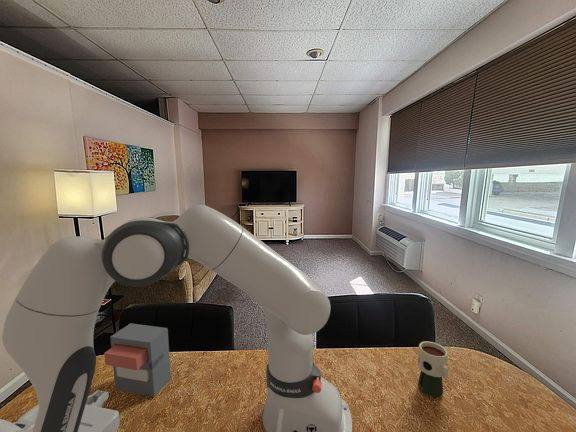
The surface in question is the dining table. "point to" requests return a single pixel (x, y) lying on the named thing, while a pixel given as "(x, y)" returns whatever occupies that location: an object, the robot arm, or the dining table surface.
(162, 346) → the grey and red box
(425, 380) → the character mug
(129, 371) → the pale button
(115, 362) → the red button
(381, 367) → the dining table surface
